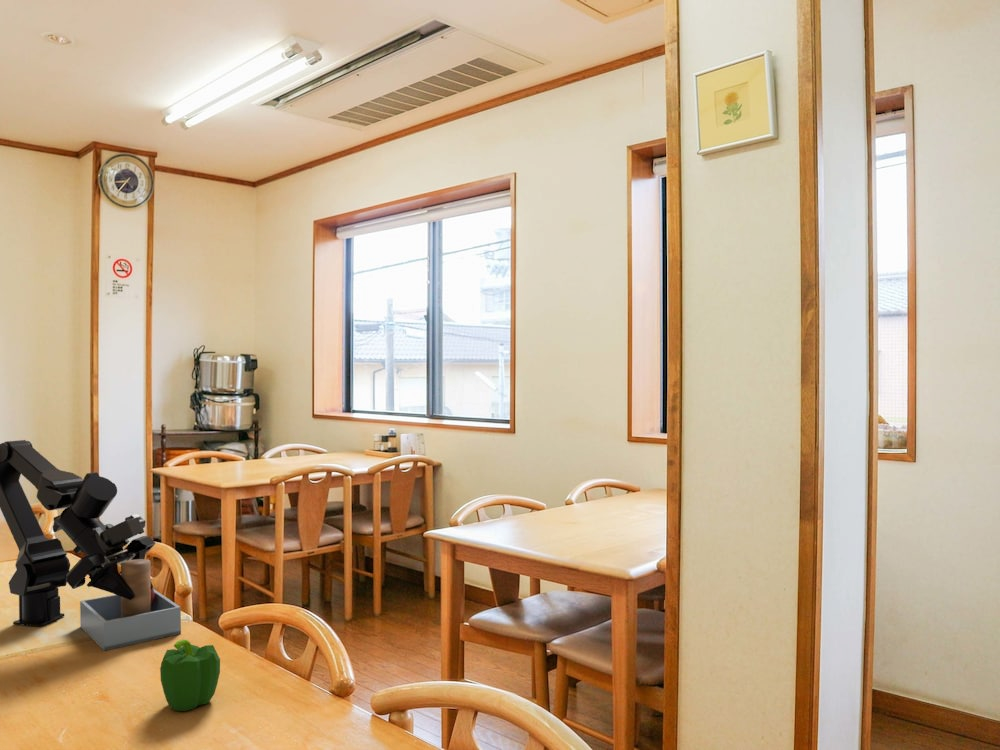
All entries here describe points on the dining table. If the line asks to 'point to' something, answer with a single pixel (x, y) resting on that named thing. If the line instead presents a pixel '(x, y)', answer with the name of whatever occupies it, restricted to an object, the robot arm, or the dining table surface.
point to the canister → (137, 587)
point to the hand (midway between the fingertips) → (142, 593)
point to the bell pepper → (189, 675)
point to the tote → (128, 621)
